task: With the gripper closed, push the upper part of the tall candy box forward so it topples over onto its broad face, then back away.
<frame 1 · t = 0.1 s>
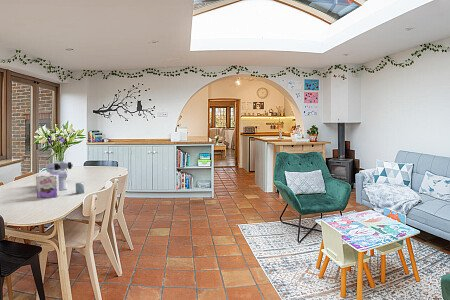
hand: (65, 166, 241), 22 cm above the table, tool horizontal, fingers open, 7 cm apart
rounded blue cylinder: (80, 193, 245), on the table
candy box: (48, 197, 233), on the table
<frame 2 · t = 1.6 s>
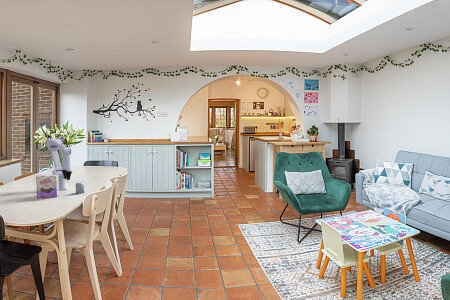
hand: (67, 179, 247), 10 cm above the table, tool pointing down, fingers open, 7 cm apart
nothing on the table moved.
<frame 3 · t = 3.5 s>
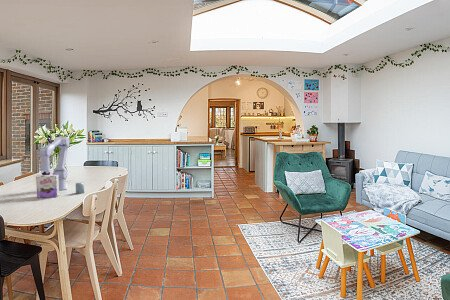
hand: (46, 181, 238), 10 cm above the table, tool pointing down, fingers closed
nothing on the table moved.
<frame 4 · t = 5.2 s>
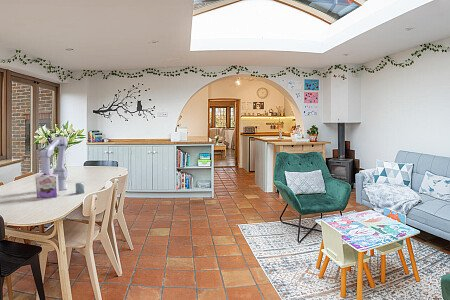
hand: (46, 183, 236), 9 cm above the table, tool pointing down, fingers closed
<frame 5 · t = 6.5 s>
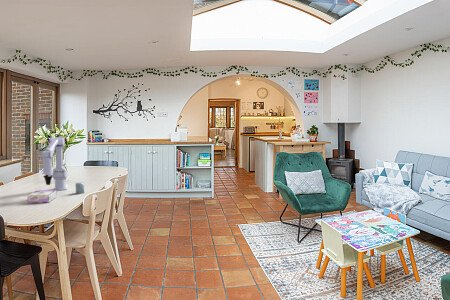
hand: (48, 184, 230), 9 cm above the table, tool pointing down, fingers closed
candy box: (46, 193, 230), point 3 cm above the table
everything else where it was.
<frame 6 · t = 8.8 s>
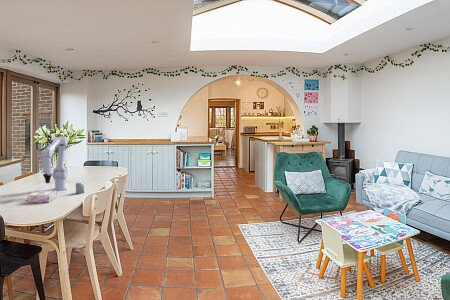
hand: (47, 183, 236), 9 cm above the table, tool pointing down, fingers closed
nothing on the table moved.
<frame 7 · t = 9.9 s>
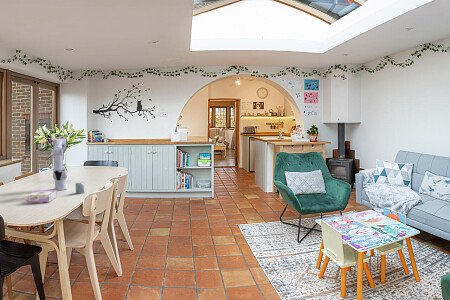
hand: (58, 180, 243), 10 cm above the table, tool pointing down, fingers closed
nothing on the table moved.
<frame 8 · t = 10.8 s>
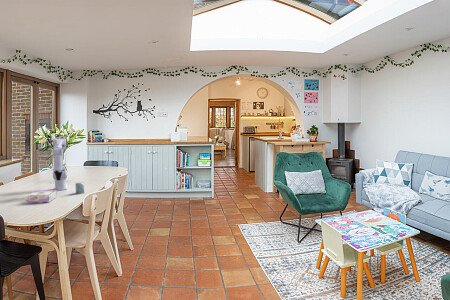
hand: (58, 180, 243), 10 cm above the table, tool pointing down, fingers closed
nothing on the table moved.
at the end: candy box tilted 89°; candy box inside the target area (3.8 cm from its centre), point 2.8 cm above the table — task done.
